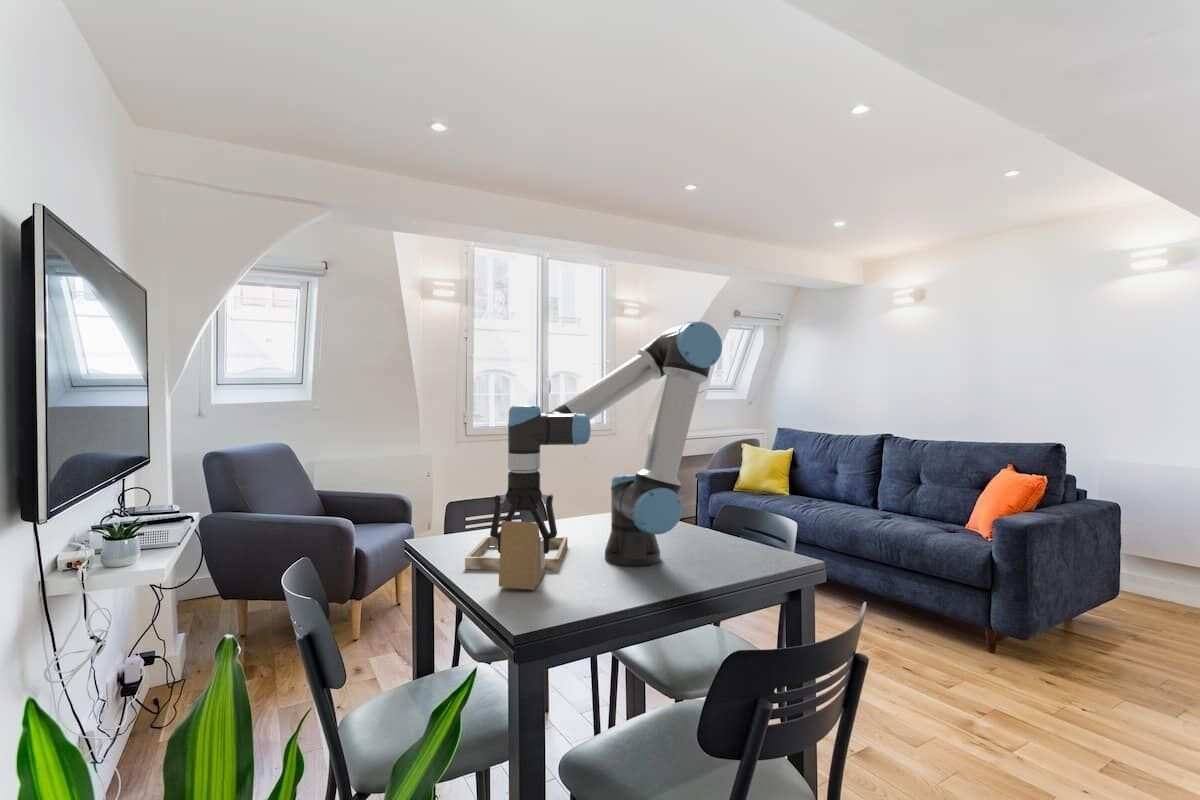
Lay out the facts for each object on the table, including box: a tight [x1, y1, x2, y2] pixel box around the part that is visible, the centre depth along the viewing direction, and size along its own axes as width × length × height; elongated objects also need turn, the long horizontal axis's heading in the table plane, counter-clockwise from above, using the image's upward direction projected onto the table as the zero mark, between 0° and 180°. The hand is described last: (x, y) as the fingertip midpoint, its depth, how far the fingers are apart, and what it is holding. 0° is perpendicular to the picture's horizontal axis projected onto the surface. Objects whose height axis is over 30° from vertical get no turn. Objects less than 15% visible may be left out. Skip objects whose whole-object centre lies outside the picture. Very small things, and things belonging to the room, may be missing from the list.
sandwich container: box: [498, 520, 546, 590], centre depth 141 cm, size 9×15×15 cm, turn 175°
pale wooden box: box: [464, 535, 568, 571], centre depth 163 cm, size 24×24×3 cm
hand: (523, 566), depth 140 cm, fingers closed on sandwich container, 8 cm apart
